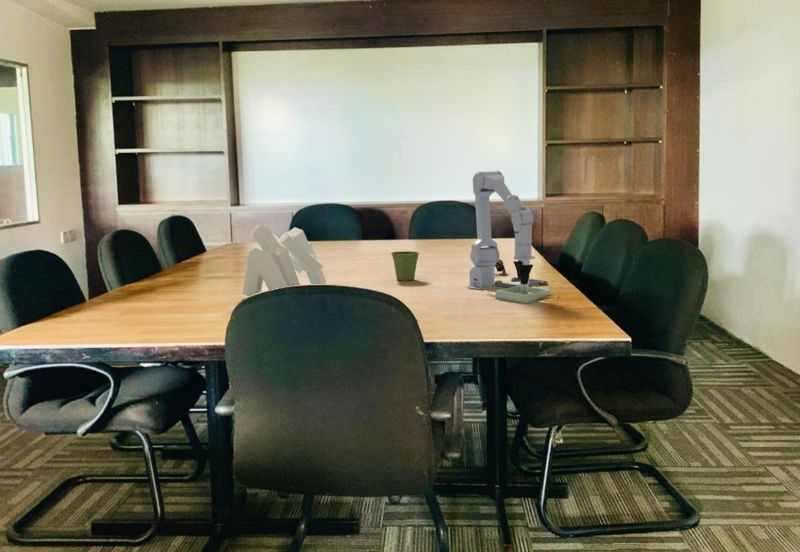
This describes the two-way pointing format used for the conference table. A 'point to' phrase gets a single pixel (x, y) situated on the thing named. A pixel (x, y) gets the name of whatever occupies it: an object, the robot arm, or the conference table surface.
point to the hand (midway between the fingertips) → (522, 282)
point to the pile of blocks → (280, 261)
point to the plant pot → (405, 264)
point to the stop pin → (523, 288)
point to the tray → (522, 295)
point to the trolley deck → (516, 283)
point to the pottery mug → (500, 267)
